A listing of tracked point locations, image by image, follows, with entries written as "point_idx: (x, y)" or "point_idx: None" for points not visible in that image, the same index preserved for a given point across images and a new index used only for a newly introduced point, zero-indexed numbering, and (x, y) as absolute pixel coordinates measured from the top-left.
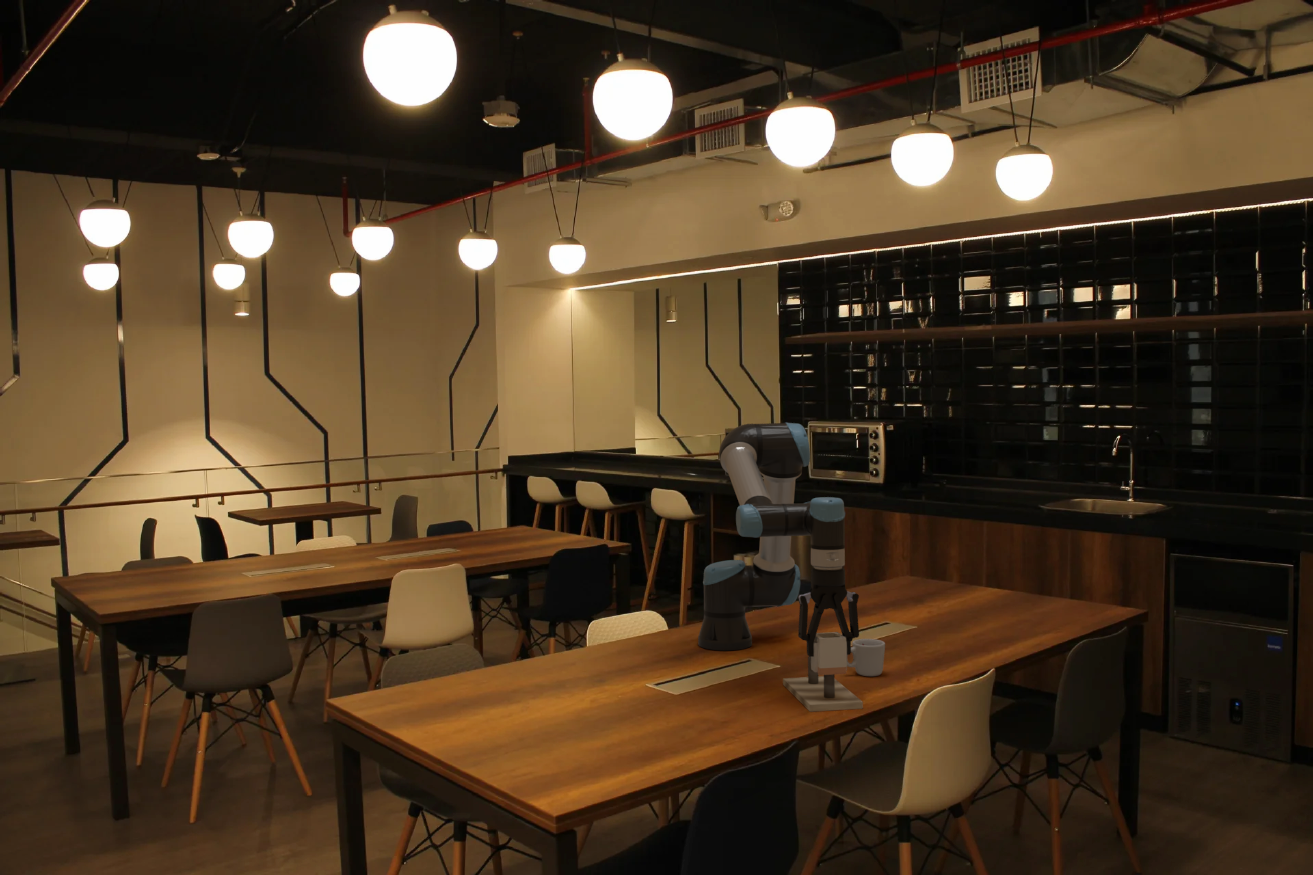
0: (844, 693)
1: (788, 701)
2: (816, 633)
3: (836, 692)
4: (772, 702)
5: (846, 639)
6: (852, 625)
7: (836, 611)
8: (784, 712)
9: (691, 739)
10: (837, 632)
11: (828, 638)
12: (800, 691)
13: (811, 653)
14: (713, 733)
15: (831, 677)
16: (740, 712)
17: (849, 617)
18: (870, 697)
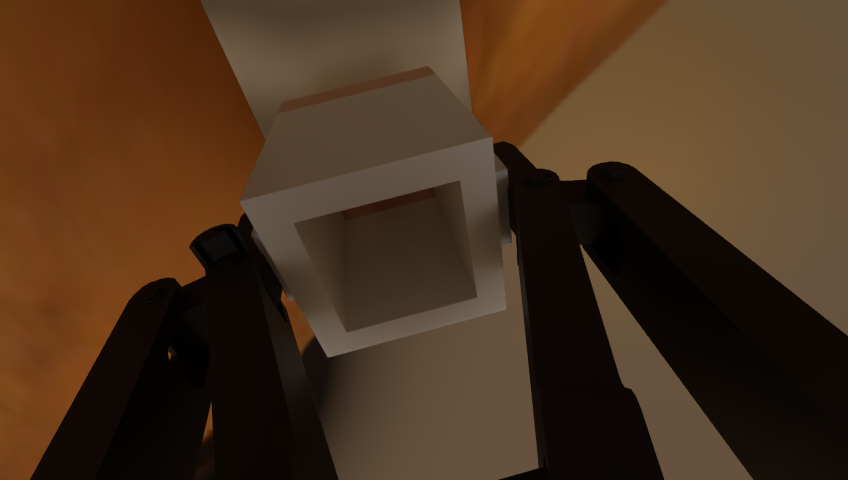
0: (432, 57)
1: (196, 80)
2: (288, 207)
3: (401, 41)
4: (128, 98)
5: (516, 241)
6: (622, 281)
7: (538, 448)
8: (215, 212)
9: (35, 411)
10: (488, 155)
11: (387, 338)
12: (233, 26)
13: None
14: (69, 377)
15: None
16: (52, 226)
17: (674, 271)
18: (535, 8)
